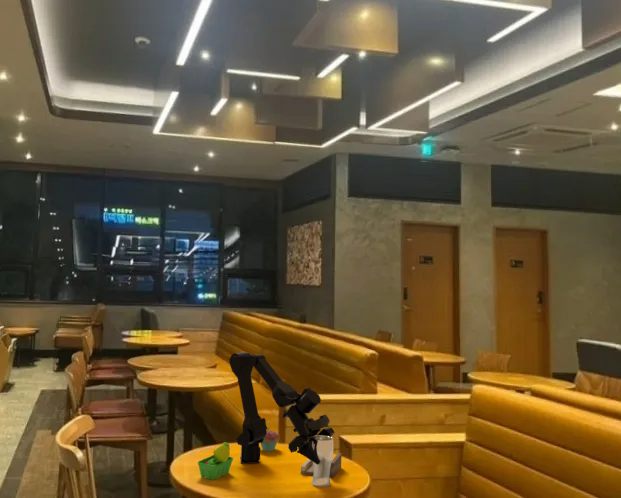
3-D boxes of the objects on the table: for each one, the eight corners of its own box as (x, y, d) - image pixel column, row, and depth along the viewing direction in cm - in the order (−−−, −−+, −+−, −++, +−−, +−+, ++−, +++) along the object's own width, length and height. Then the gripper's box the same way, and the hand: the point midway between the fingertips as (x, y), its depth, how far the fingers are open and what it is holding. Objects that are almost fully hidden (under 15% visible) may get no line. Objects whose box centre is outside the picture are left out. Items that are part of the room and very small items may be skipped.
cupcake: (278, 453, 239) (279, 421, 240) (255, 452, 239) (257, 420, 240) (279, 446, 248) (280, 416, 248) (258, 445, 248) (259, 415, 248)
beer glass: (329, 488, 204) (331, 441, 204) (308, 485, 205) (310, 439, 206) (333, 481, 210) (335, 436, 211) (312, 479, 212) (315, 434, 212)
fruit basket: (215, 468, 219) (216, 435, 219) (236, 473, 215) (238, 439, 215) (195, 477, 209) (197, 443, 209) (217, 482, 205) (219, 447, 205)
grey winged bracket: (300, 473, 217) (301, 459, 217) (310, 463, 228) (311, 449, 229) (333, 478, 214) (333, 463, 214) (341, 467, 225) (341, 453, 225)
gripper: (296, 411, 204) (322, 453, 196) (331, 403, 218) (356, 442, 211) (277, 431, 208) (301, 473, 201) (312, 422, 223) (336, 460, 216)
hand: (325, 461), depth 207 cm, fingers closed on beer glass, 6 cm apart
